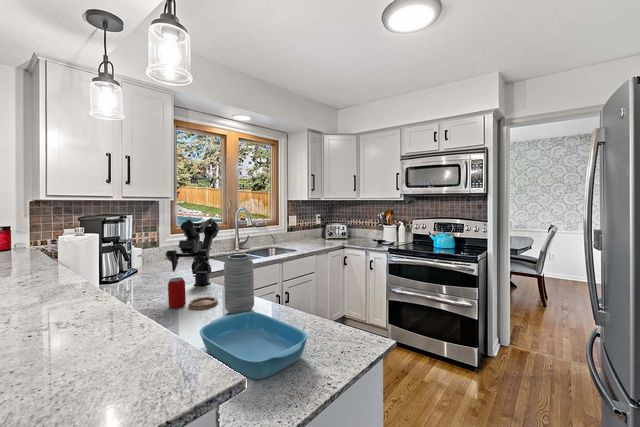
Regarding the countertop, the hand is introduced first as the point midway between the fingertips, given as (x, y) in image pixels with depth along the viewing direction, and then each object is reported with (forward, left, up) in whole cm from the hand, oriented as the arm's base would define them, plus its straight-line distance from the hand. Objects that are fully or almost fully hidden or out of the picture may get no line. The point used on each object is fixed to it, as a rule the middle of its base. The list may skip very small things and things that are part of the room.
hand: (183, 271), depth 141 cm
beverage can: (+7, +4, -14) cm, 16 cm away
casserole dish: (+27, +58, -14) cm, 66 cm away
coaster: (+1, +13, -13) cm, 19 cm away
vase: (+1, +33, -14) cm, 35 cm away
